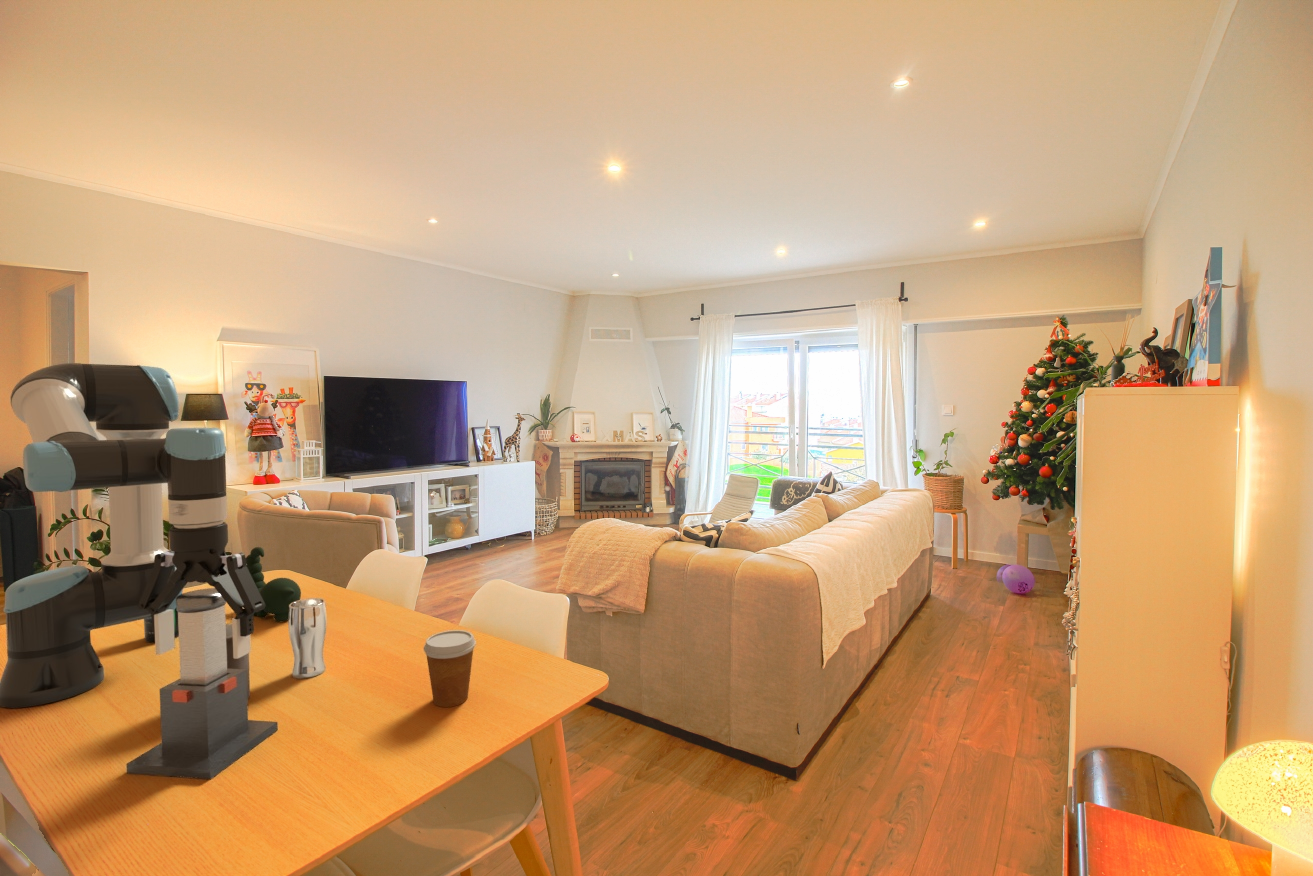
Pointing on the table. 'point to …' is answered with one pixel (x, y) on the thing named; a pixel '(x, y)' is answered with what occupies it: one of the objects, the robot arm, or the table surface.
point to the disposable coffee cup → (450, 666)
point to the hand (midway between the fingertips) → (203, 653)
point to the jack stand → (203, 729)
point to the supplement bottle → (151, 635)
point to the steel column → (202, 637)
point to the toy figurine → (272, 589)
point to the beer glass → (307, 636)
